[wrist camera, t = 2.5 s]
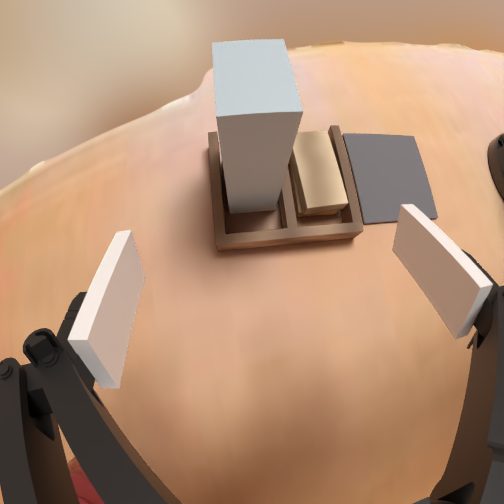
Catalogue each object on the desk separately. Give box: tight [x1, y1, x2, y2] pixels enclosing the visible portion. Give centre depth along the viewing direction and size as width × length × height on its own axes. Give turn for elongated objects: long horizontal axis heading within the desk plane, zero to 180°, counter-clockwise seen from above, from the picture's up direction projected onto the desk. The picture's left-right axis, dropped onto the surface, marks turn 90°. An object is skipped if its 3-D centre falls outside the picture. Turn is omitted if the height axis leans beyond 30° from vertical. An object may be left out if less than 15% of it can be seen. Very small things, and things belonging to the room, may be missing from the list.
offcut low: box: [289, 157, 339, 217], centre depth 34 cm, size 4×9×2 cm, turn 5°
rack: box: [208, 126, 363, 251], centre depth 33 cm, size 15×13×3 cm
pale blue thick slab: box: [212, 39, 303, 214], centre depth 26 cm, size 5×7×18 cm
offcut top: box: [290, 131, 348, 214], centre depth 33 cm, size 4×9×2 cm, turn 9°
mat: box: [343, 134, 438, 224], centre depth 35 cm, size 11×12×1 cm
